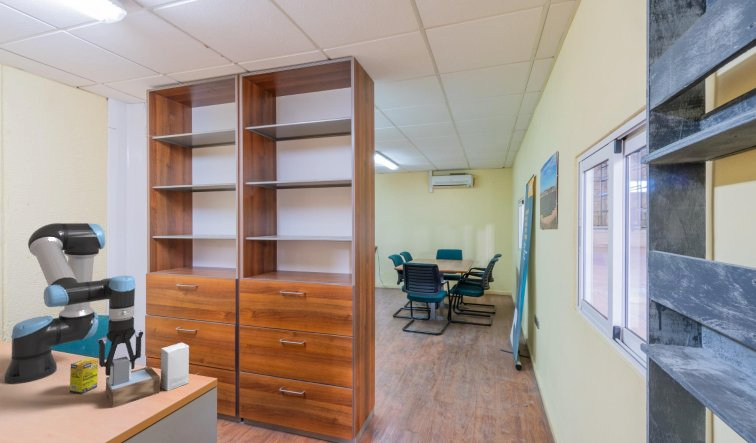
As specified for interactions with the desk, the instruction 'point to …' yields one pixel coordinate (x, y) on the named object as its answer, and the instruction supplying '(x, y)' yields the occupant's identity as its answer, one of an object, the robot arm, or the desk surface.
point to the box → (134, 389)
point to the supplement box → (83, 375)
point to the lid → (125, 374)
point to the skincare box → (174, 366)
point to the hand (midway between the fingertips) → (120, 380)
